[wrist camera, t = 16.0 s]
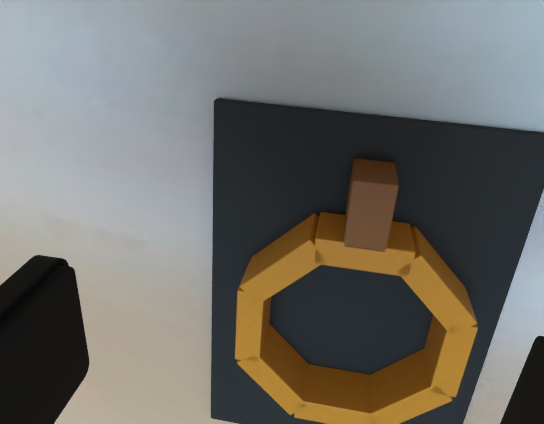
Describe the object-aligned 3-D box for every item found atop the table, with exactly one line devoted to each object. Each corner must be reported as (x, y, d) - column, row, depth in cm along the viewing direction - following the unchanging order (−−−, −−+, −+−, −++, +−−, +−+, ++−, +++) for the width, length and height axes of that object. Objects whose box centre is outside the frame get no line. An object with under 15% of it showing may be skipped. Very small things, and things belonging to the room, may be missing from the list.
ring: (255, 146, 24) (241, 166, 21) (501, 174, 22) (520, 200, 20) (244, 369, 30) (232, 406, 28) (434, 402, 29) (441, 445, 26)
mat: (216, 98, 24) (213, 100, 23) (557, 133, 22) (562, 136, 21) (212, 412, 33) (210, 418, 33) (448, 457, 31) (449, 464, 31)
